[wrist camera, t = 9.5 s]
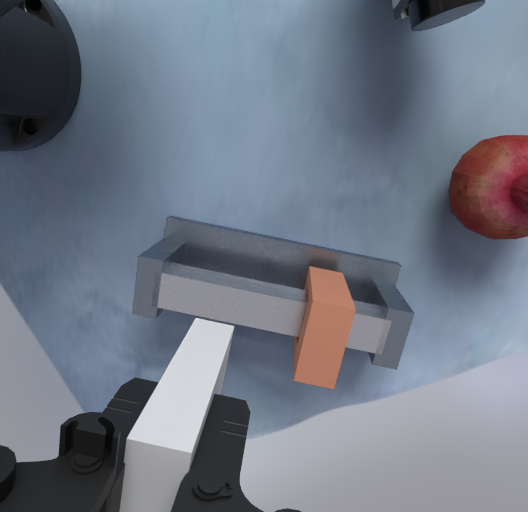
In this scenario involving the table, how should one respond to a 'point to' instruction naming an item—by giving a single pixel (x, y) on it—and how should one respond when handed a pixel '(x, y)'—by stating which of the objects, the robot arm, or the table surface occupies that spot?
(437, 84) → the table surface
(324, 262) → the grey rail frame
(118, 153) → the table surface
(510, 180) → the fruit
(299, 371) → the terracotta rectangular block
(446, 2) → the pneumatic valve
